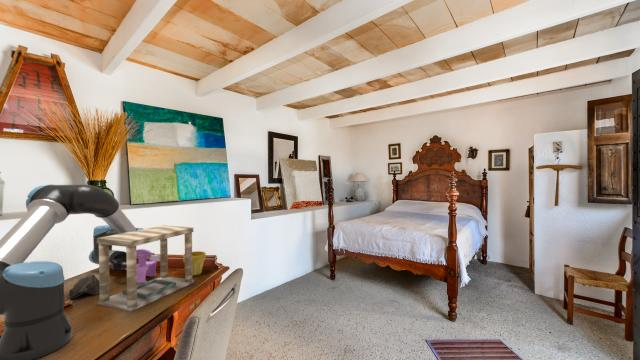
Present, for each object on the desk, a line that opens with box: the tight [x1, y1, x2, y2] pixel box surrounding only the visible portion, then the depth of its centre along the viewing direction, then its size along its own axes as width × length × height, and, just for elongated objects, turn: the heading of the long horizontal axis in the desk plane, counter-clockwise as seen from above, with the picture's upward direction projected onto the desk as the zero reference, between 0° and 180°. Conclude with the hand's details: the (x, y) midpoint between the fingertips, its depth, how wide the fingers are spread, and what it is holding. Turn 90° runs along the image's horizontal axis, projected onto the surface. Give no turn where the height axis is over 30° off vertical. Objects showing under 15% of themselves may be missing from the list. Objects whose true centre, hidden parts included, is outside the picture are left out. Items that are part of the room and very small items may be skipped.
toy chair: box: [136, 248, 157, 284], centre depth 130 cm, size 8×9×15 cm
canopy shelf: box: [97, 225, 195, 312], centre depth 115 cm, size 29×18×25 cm, turn 160°
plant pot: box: [182, 250, 207, 276], centre depth 137 cm, size 10×10×10 cm
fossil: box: [67, 273, 100, 300], centre depth 114 cm, size 11×9×10 cm
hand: (147, 262), depth 130 cm, fingers open, 13 cm apart
